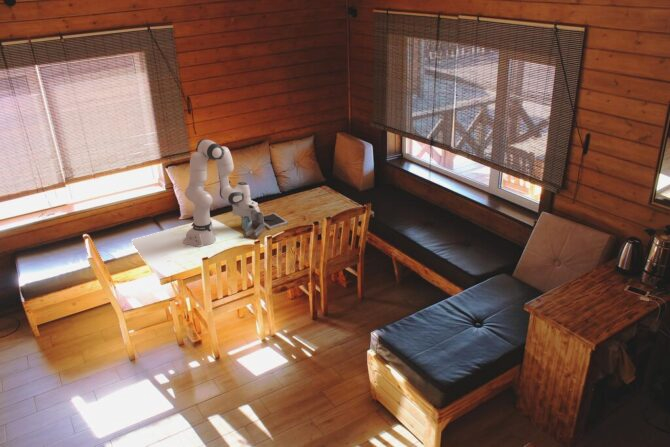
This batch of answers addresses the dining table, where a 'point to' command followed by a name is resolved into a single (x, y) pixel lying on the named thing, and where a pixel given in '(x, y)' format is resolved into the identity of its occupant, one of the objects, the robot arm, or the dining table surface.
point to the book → (245, 222)
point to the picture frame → (274, 221)
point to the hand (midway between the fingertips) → (247, 221)
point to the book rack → (255, 226)
